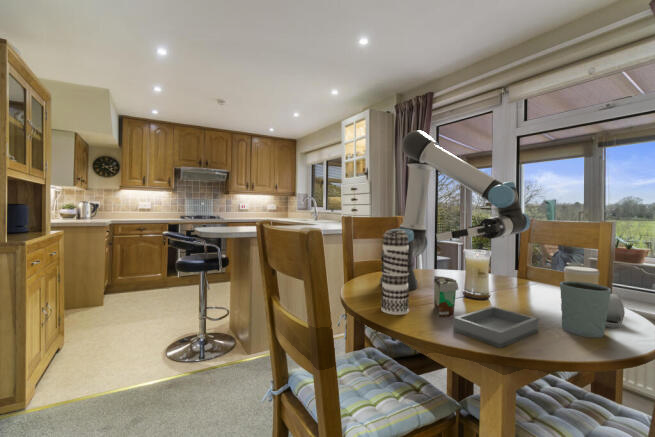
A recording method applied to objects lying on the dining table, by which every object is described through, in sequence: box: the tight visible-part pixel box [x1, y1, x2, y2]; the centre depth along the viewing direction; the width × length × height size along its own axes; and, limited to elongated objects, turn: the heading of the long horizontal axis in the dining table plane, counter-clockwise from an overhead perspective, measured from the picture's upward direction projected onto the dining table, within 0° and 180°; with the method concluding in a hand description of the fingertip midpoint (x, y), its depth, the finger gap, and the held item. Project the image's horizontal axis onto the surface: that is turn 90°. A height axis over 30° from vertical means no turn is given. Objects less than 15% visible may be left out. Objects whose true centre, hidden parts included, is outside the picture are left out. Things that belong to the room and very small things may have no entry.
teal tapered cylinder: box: [559, 280, 612, 339], centre depth 80 cm, size 10×10×12 cm
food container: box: [433, 275, 459, 318], centre depth 94 cm, size 12×6×10 cm, turn 168°
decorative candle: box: [380, 229, 411, 316], centre depth 96 cm, size 9×9×25 cm
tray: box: [453, 306, 539, 349], centre depth 79 cm, size 12×18×4 cm, turn 123°
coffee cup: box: [563, 265, 601, 285], centre depth 104 cm, size 9×9×12 cm
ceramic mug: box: [605, 293, 626, 329], centre depth 87 cm, size 11×8×8 cm
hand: (452, 235), depth 102 cm, fingers open, 13 cm apart
